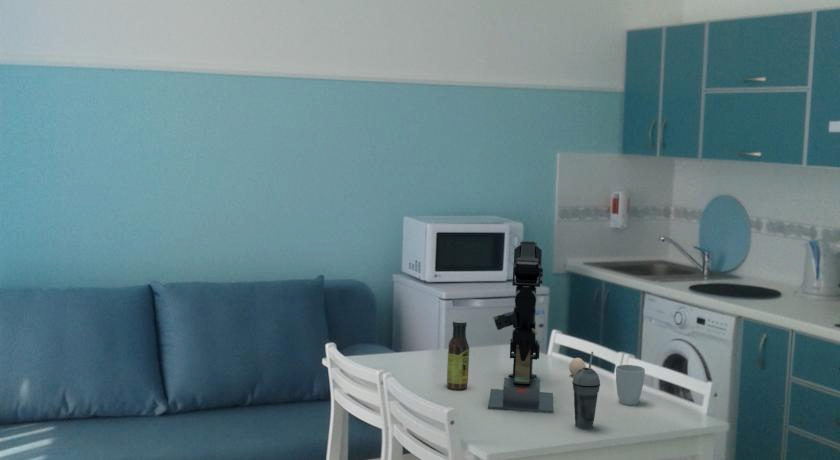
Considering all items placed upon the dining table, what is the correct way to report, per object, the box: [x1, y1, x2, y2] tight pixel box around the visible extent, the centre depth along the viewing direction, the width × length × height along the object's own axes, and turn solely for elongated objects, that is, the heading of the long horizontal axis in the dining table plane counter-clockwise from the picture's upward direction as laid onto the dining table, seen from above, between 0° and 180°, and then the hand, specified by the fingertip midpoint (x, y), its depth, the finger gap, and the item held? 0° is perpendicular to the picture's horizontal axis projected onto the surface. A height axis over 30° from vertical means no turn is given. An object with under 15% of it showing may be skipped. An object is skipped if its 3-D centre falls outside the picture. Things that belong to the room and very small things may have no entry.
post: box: [515, 345, 531, 384], centre depth 283 cm, size 4×4×10 cm
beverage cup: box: [572, 351, 601, 430], centre depth 262 cm, size 7×7×20 cm
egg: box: [568, 357, 587, 376], centre depth 314 cm, size 5×5×6 cm
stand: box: [487, 377, 555, 414], centre depth 284 cm, size 18×18×6 cm
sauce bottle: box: [446, 319, 470, 391], centre depth 296 cm, size 6×6×20 cm
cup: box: [615, 364, 646, 406], centre depth 286 cm, size 8×8×10 cm
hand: (523, 359), depth 283 cm, fingers closed on post, 4 cm apart
